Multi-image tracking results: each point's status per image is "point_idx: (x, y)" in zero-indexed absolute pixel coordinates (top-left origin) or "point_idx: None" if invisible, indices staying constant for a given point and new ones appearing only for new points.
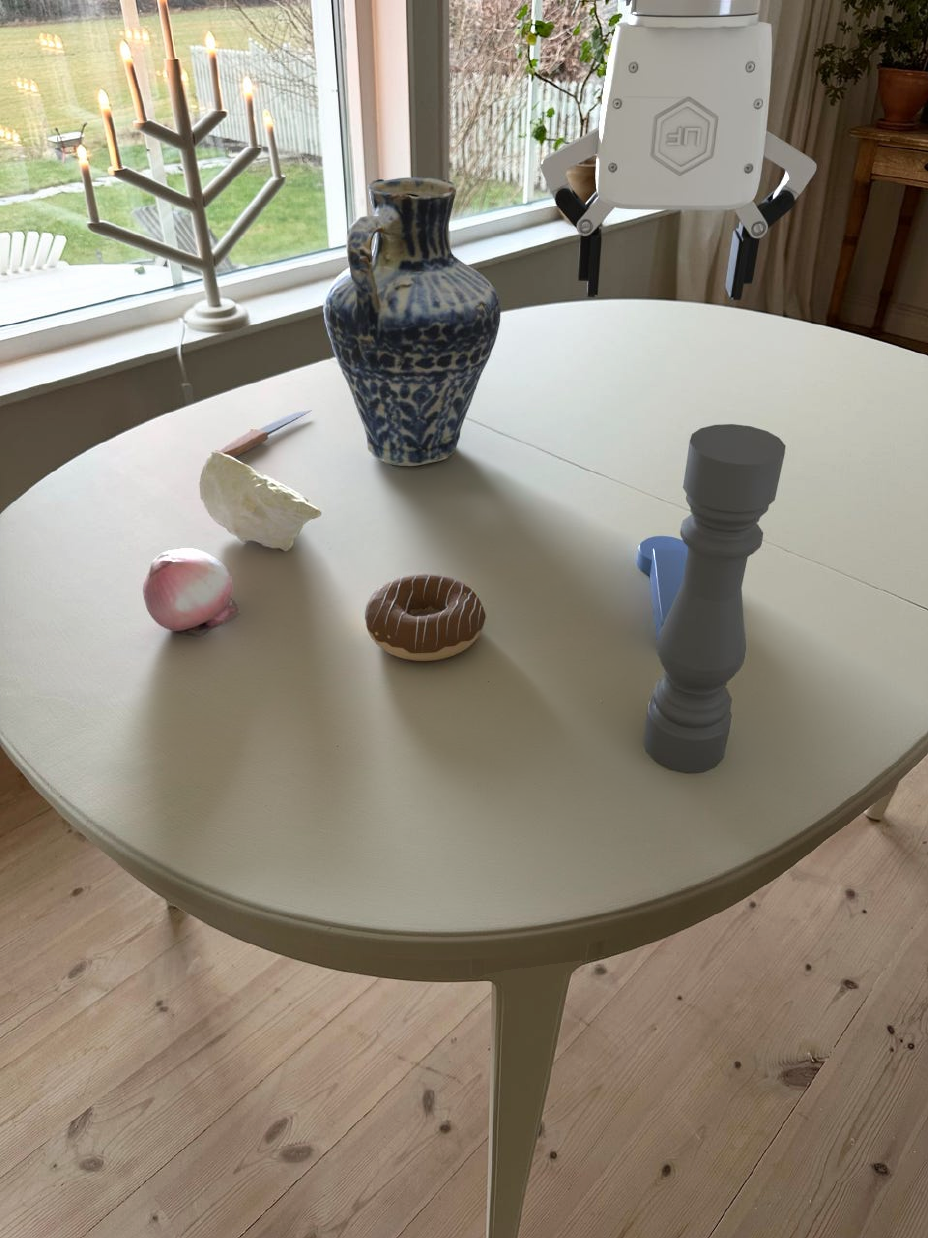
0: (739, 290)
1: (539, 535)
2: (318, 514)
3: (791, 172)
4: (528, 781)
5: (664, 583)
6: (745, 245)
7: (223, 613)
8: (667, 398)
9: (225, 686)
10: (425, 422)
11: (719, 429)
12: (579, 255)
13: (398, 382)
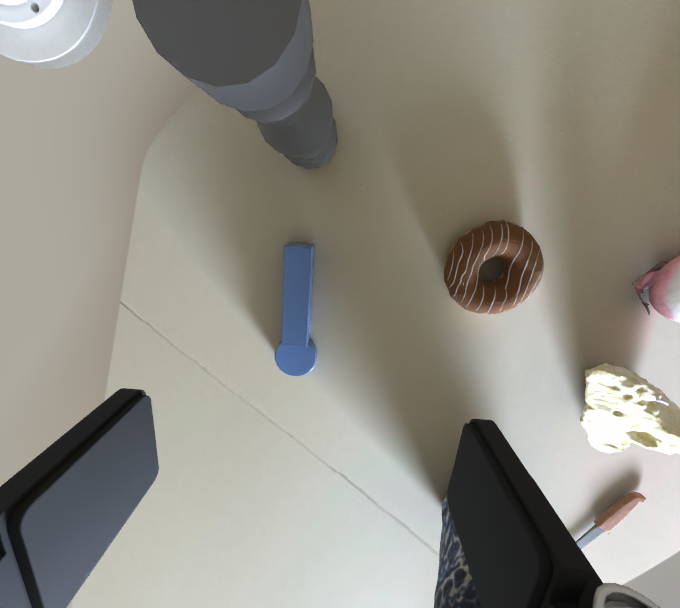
0: (116, 397)
1: (386, 389)
2: (595, 367)
3: None
4: (424, 93)
5: (303, 300)
6: (5, 494)
7: (649, 278)
8: (268, 569)
9: (642, 200)
10: None
11: (241, 60)
12: (564, 526)
13: None
